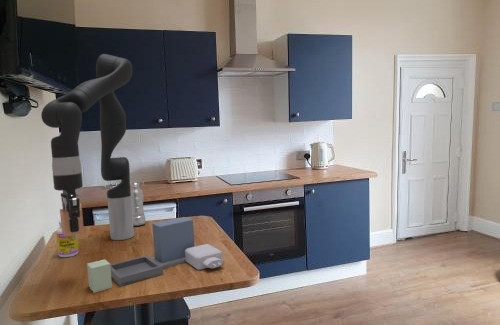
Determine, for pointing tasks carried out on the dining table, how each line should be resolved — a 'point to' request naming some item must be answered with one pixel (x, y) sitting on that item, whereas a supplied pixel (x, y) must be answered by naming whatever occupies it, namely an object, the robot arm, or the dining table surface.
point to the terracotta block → (66, 224)
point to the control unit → (172, 240)
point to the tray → (135, 270)
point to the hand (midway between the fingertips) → (72, 229)
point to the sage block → (99, 275)
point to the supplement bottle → (66, 243)
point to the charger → (203, 256)
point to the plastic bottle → (137, 204)
